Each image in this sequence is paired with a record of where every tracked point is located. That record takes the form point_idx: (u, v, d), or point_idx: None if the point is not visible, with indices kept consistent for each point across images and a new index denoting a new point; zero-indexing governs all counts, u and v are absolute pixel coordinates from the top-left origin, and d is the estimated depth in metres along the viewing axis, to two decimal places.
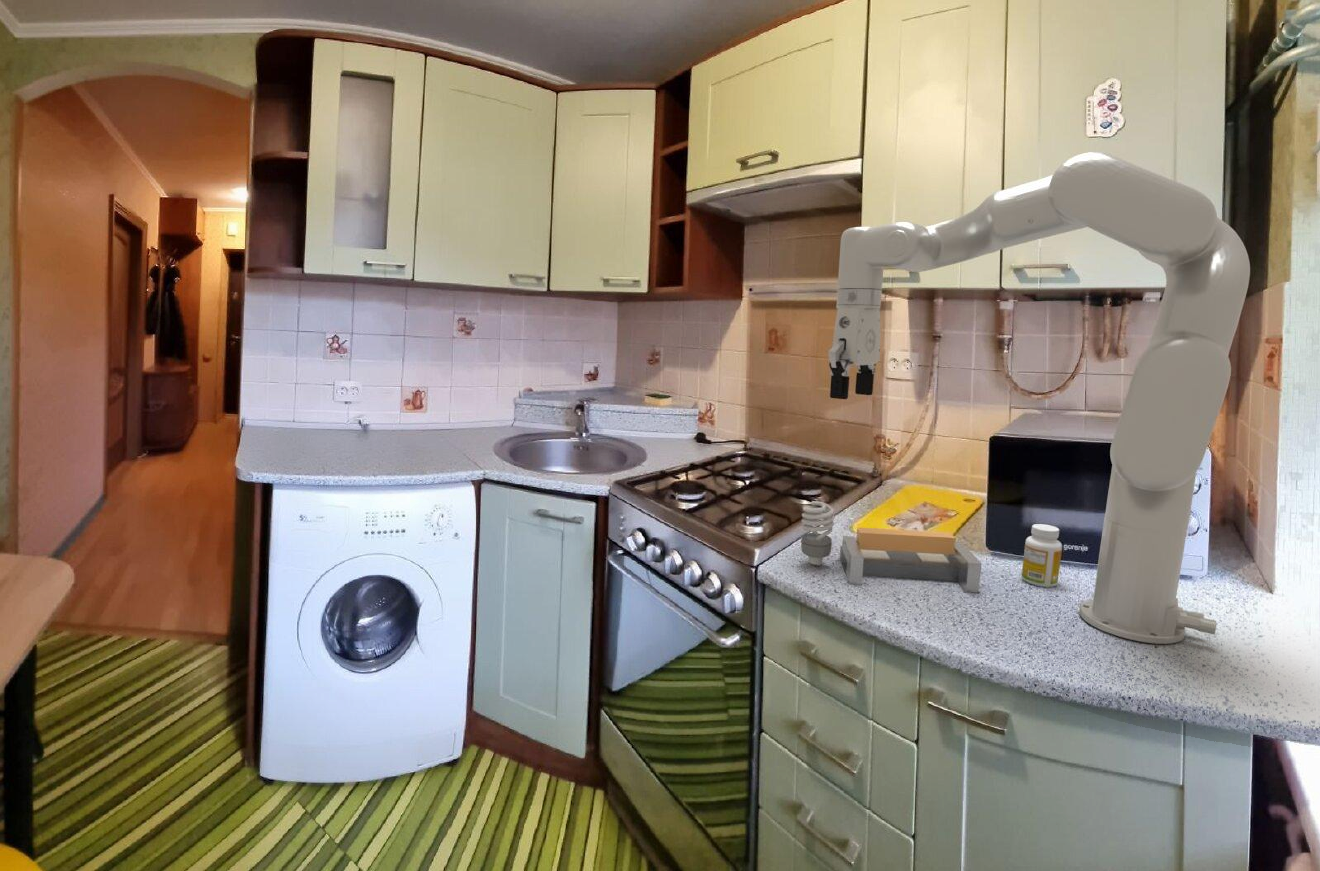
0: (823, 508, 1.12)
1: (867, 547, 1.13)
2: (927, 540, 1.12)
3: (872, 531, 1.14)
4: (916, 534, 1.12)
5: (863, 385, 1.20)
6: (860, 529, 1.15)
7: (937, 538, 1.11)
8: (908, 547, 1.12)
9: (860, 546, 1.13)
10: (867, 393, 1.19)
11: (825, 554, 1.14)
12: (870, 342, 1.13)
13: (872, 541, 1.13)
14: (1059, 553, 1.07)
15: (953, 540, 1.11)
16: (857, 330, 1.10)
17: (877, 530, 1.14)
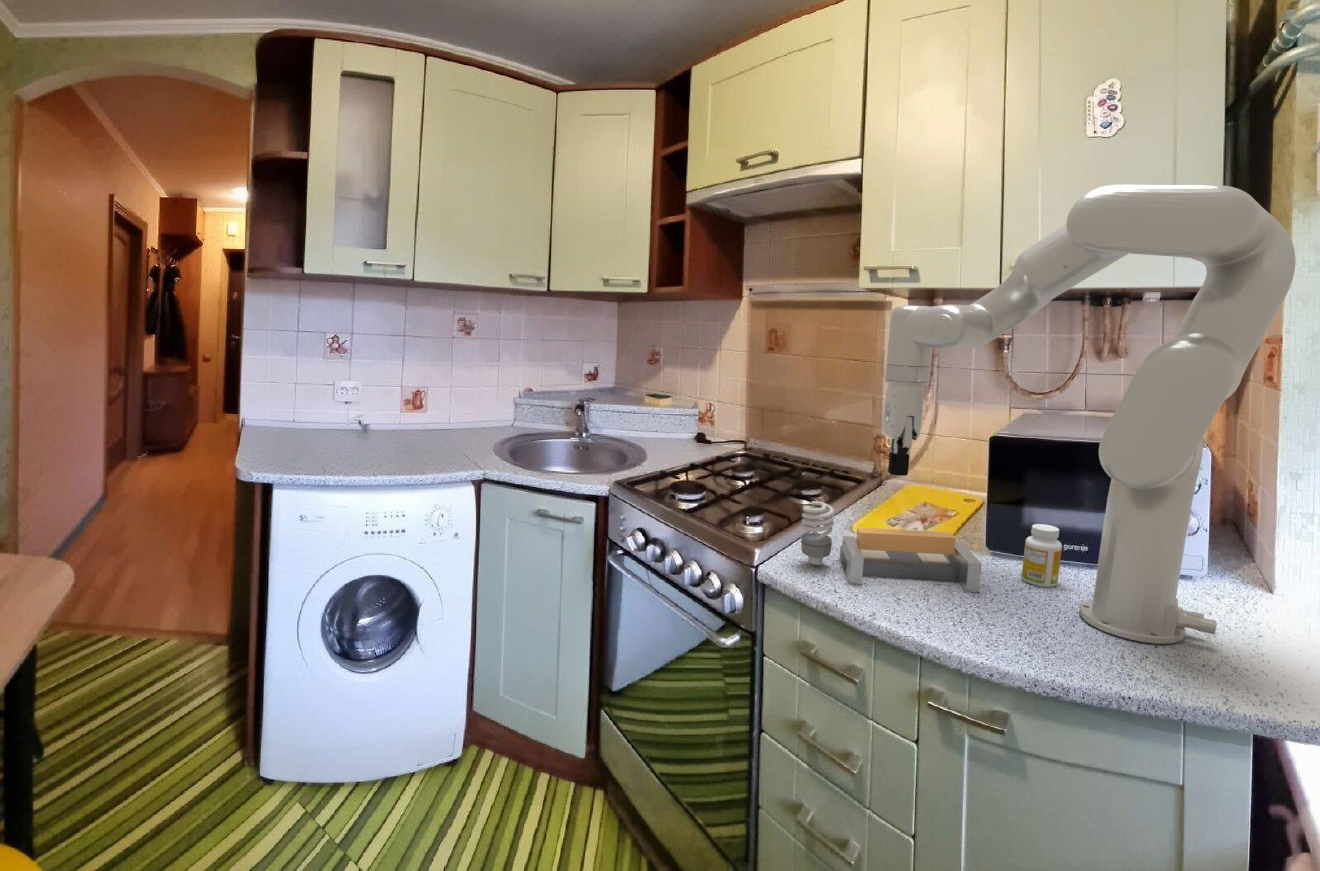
0: (823, 508, 1.12)
1: (867, 547, 1.13)
2: (927, 540, 1.12)
3: (872, 531, 1.14)
4: (916, 534, 1.12)
5: None
6: (860, 529, 1.15)
7: (937, 538, 1.11)
8: (908, 547, 1.12)
9: (860, 546, 1.13)
10: None
11: (825, 554, 1.14)
12: (887, 414, 1.17)
13: (872, 541, 1.13)
14: (1059, 553, 1.07)
15: (953, 540, 1.11)
16: (885, 400, 1.21)
17: (877, 530, 1.14)
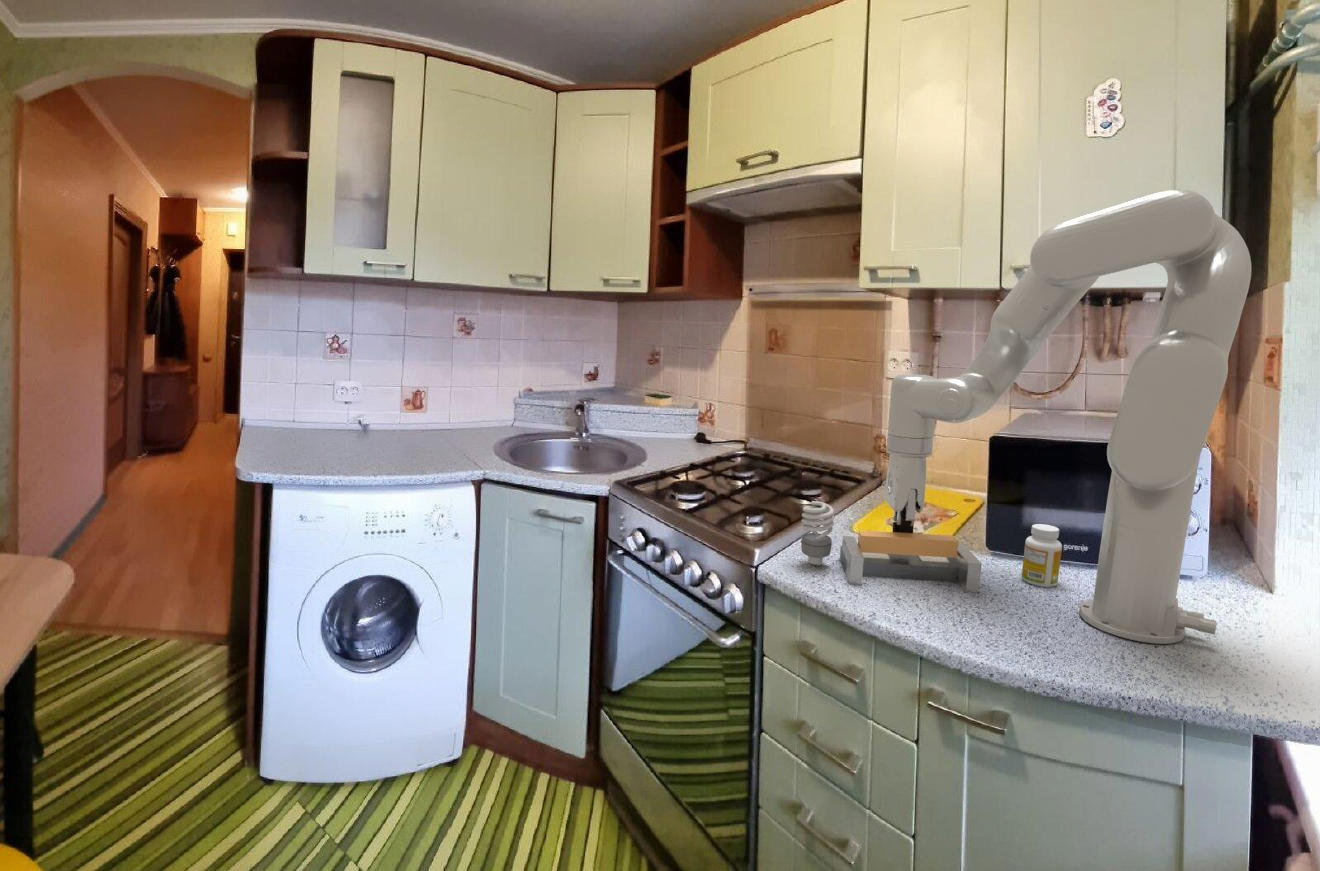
0: (823, 508, 1.12)
1: (869, 550, 1.12)
2: (930, 543, 1.10)
3: (874, 534, 1.12)
4: (918, 537, 1.11)
5: None
6: (862, 532, 1.13)
7: (940, 542, 1.10)
8: (910, 550, 1.11)
9: (862, 549, 1.12)
10: None
11: (825, 554, 1.14)
12: (890, 484, 1.14)
13: (874, 544, 1.11)
14: (1059, 553, 1.07)
15: (956, 543, 1.09)
16: None
17: (879, 533, 1.13)
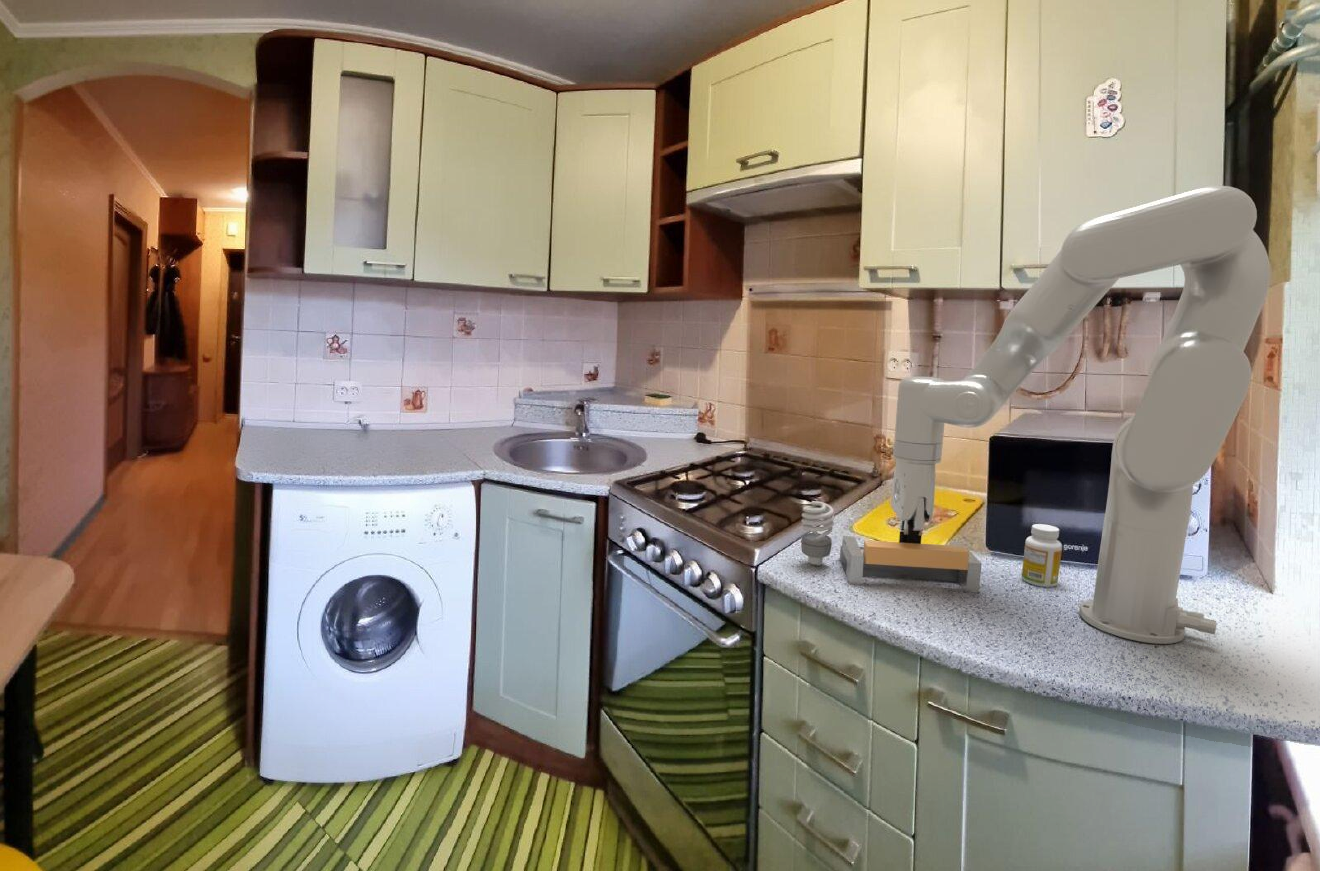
0: (823, 508, 1.12)
1: (875, 562, 1.06)
2: (939, 554, 1.05)
3: (880, 544, 1.07)
4: (927, 548, 1.05)
5: None
6: (867, 542, 1.08)
7: (950, 553, 1.04)
8: (919, 562, 1.05)
9: (867, 561, 1.06)
10: None
11: (825, 554, 1.14)
12: (897, 492, 1.09)
13: (880, 555, 1.06)
14: (1059, 553, 1.07)
15: (967, 555, 1.04)
16: None
17: (885, 543, 1.07)
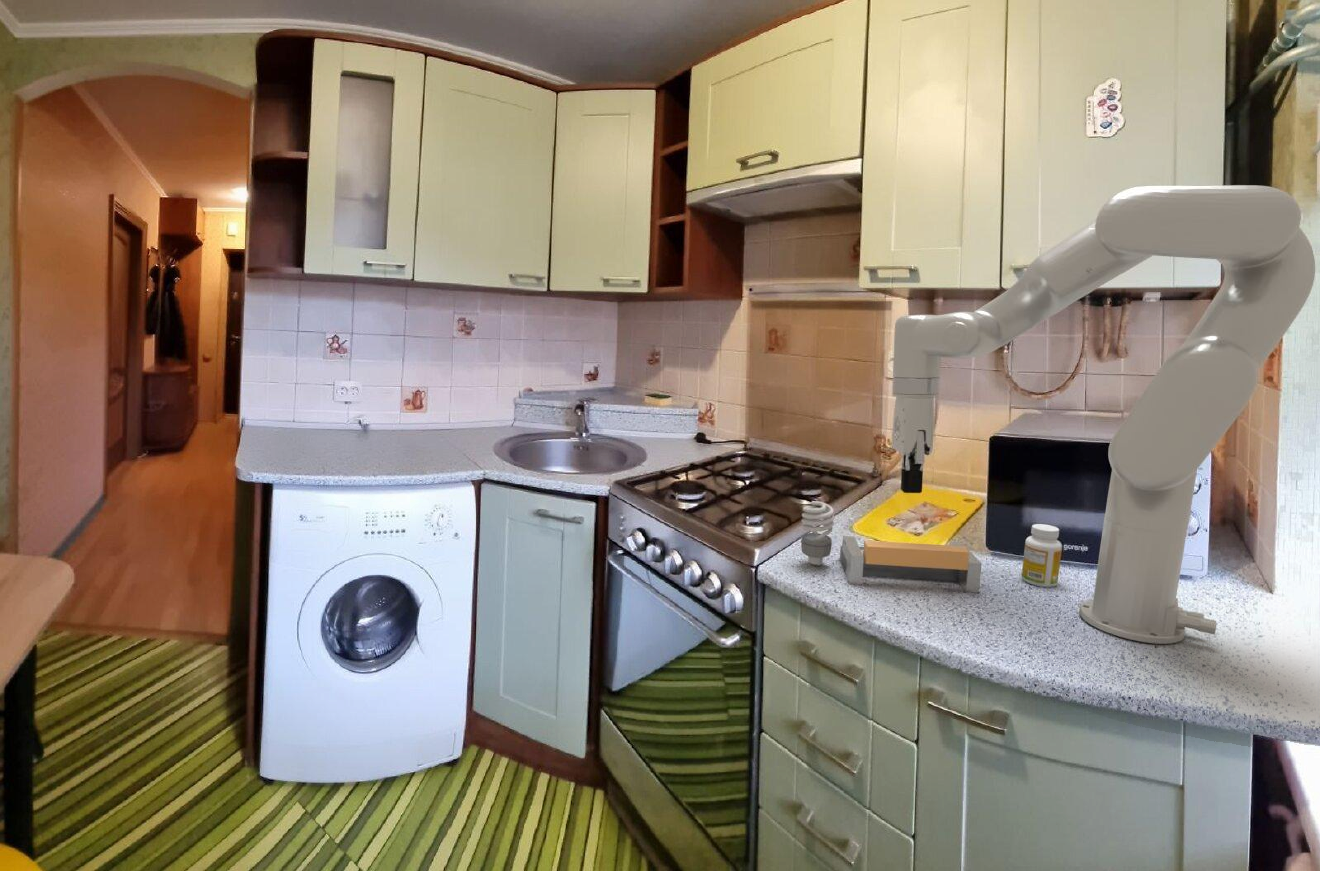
0: (823, 508, 1.12)
1: (875, 562, 1.06)
2: (939, 554, 1.05)
3: (880, 544, 1.07)
4: (927, 548, 1.05)
5: None
6: (867, 542, 1.08)
7: (950, 553, 1.04)
8: (919, 562, 1.05)
9: (867, 561, 1.06)
10: None
11: (825, 554, 1.14)
12: (897, 429, 1.12)
13: (880, 555, 1.06)
14: (1059, 553, 1.07)
15: (967, 555, 1.04)
16: None
17: (885, 544, 1.07)
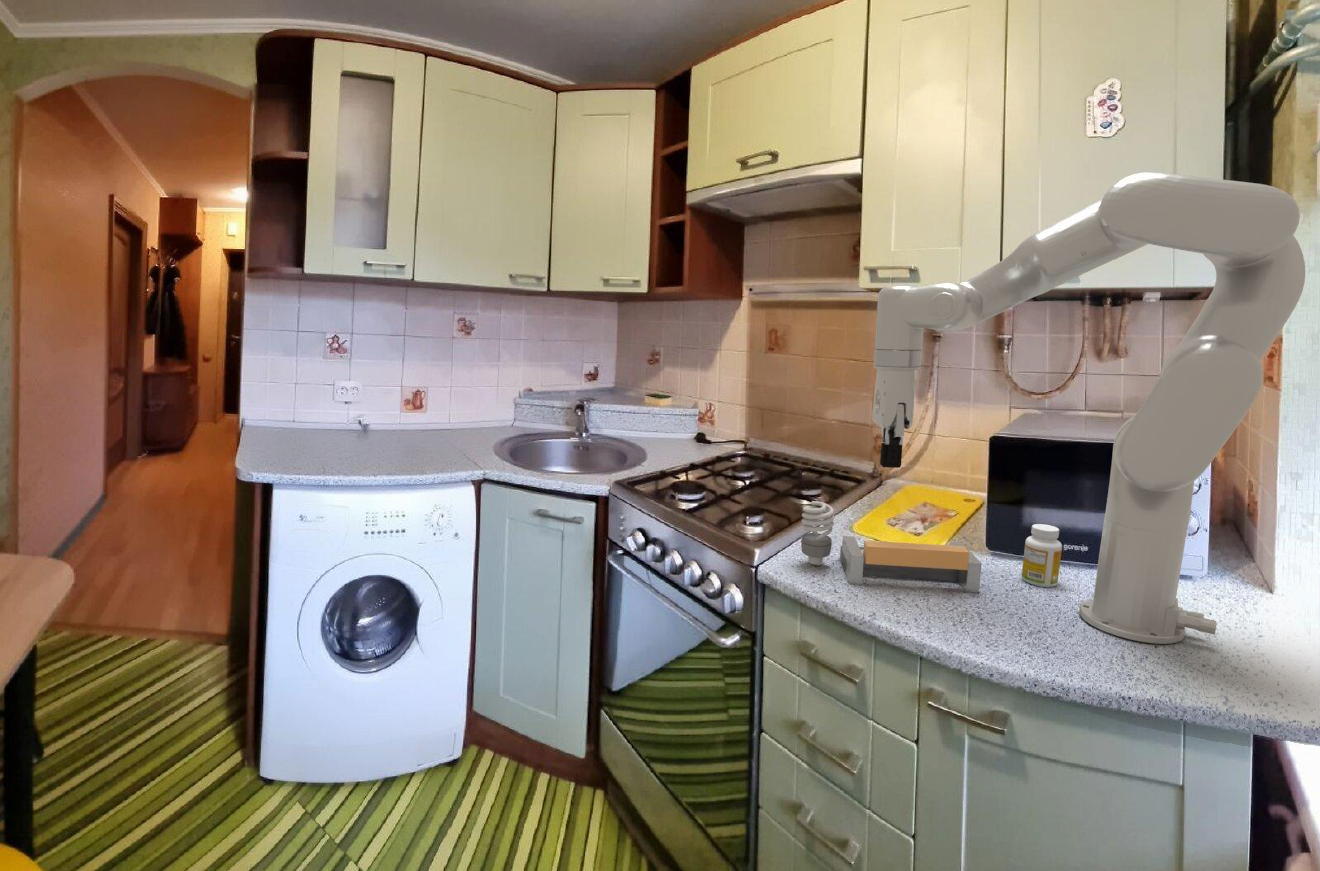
0: (823, 508, 1.12)
1: (875, 562, 1.06)
2: (939, 554, 1.05)
3: (880, 544, 1.07)
4: (927, 548, 1.05)
5: None
6: (867, 542, 1.08)
7: (950, 553, 1.04)
8: (919, 562, 1.05)
9: (867, 561, 1.06)
10: None
11: (825, 554, 1.14)
12: (877, 402, 1.10)
13: (880, 555, 1.06)
14: (1059, 553, 1.07)
15: (967, 555, 1.04)
16: None
17: (885, 544, 1.07)
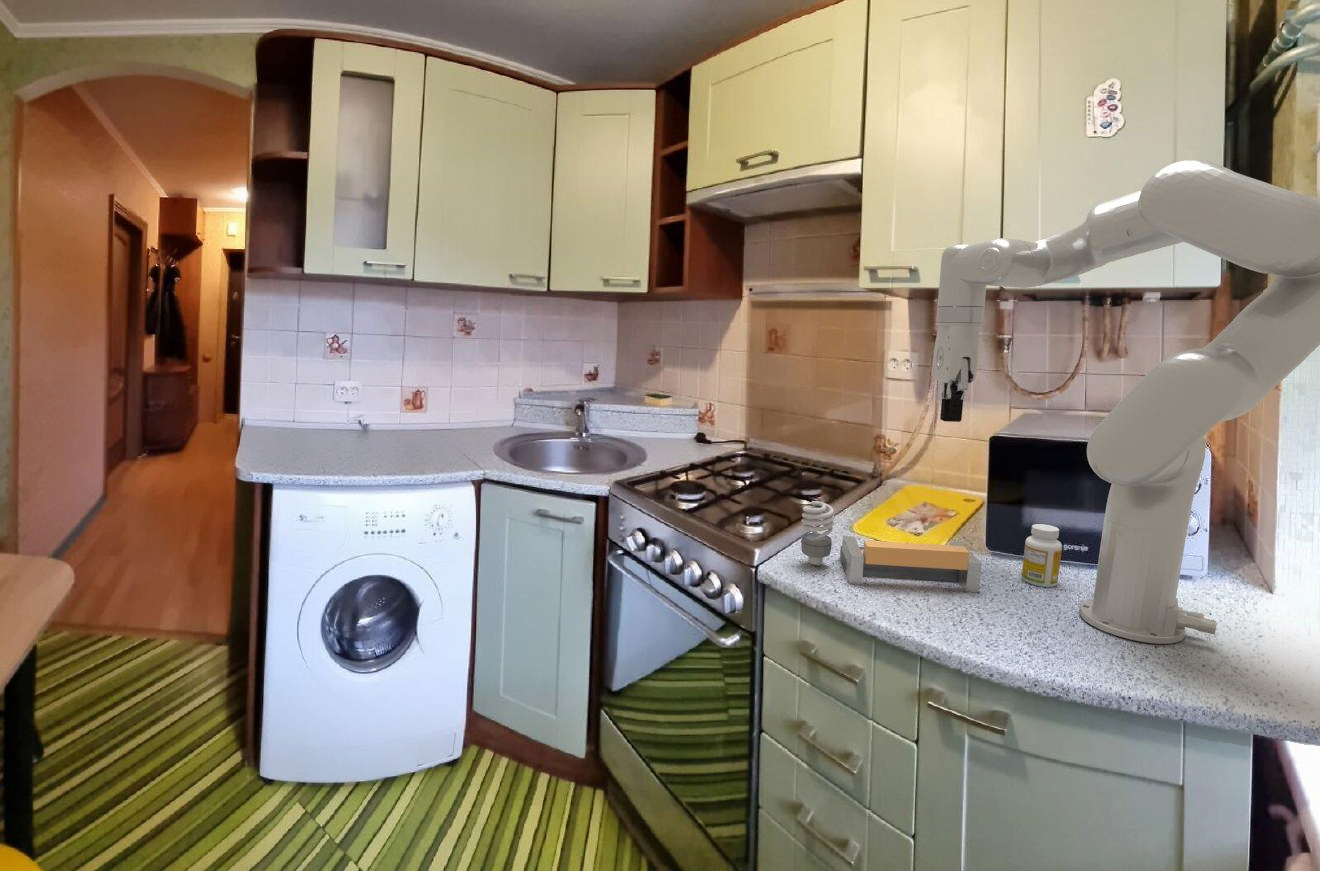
0: (823, 508, 1.12)
1: (875, 562, 1.06)
2: (939, 554, 1.05)
3: (880, 544, 1.07)
4: (927, 548, 1.05)
5: None
6: (867, 542, 1.08)
7: (950, 553, 1.04)
8: (919, 562, 1.05)
9: (867, 561, 1.06)
10: None
11: (825, 554, 1.14)
12: (939, 359, 1.15)
13: (880, 555, 1.06)
14: (1059, 553, 1.07)
15: (967, 555, 1.04)
16: None
17: (885, 544, 1.07)
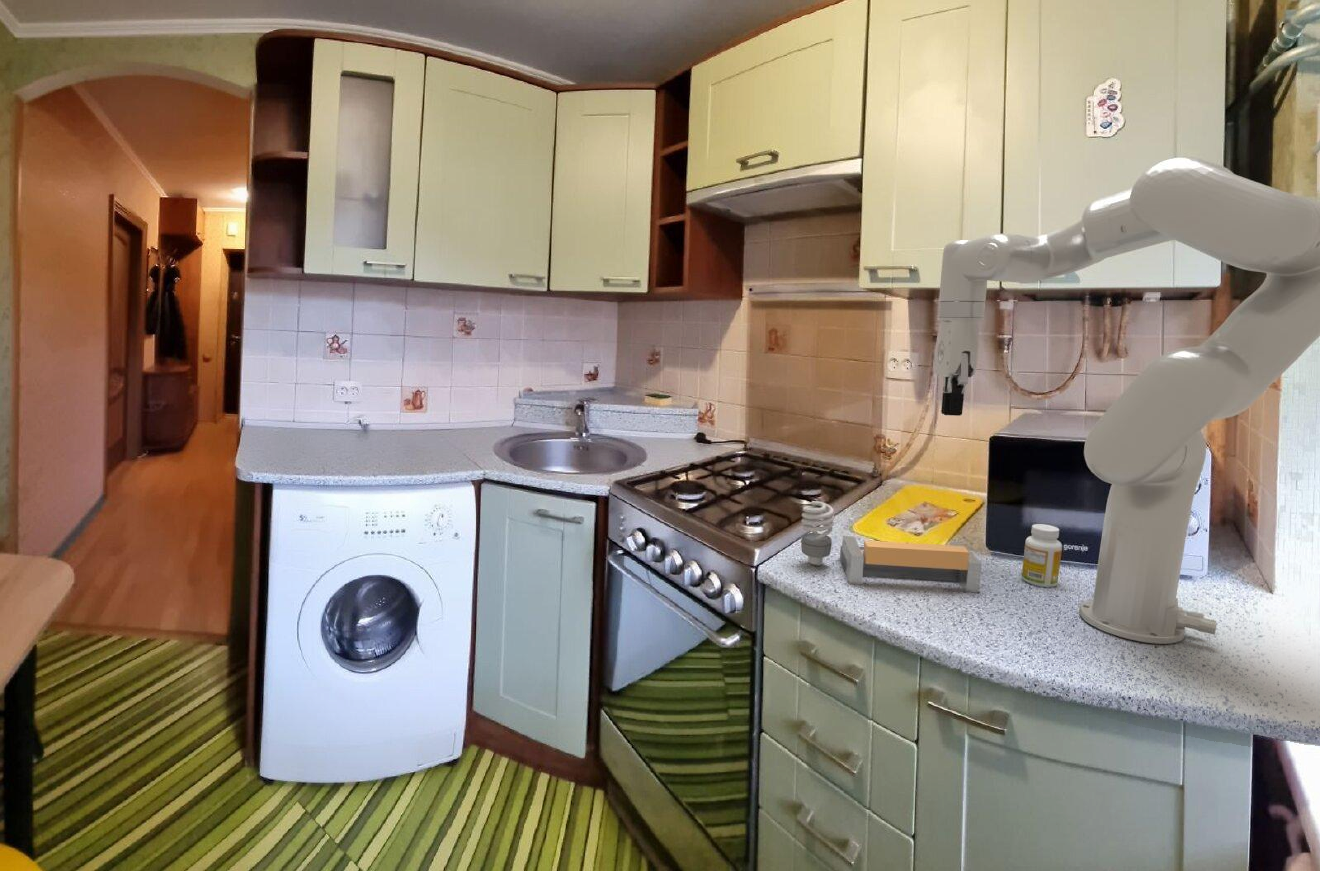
0: (823, 508, 1.12)
1: (875, 562, 1.06)
2: (939, 554, 1.05)
3: (880, 544, 1.07)
4: (927, 548, 1.05)
5: None
6: (867, 542, 1.08)
7: (950, 553, 1.04)
8: (919, 562, 1.05)
9: (867, 561, 1.06)
10: None
11: (825, 554, 1.14)
12: (940, 353, 1.16)
13: (880, 555, 1.06)
14: (1059, 553, 1.07)
15: (967, 555, 1.04)
16: None
17: (885, 544, 1.07)
